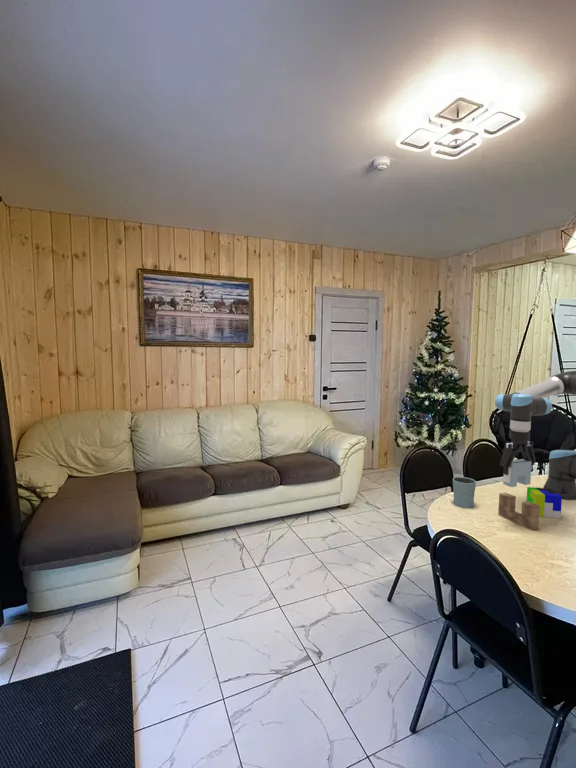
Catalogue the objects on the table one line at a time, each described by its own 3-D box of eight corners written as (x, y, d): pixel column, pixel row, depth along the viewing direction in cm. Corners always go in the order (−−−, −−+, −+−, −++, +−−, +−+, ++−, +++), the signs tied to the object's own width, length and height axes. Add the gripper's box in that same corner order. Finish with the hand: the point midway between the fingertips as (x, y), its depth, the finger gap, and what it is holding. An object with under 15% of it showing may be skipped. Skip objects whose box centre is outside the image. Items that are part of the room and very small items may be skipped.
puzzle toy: (560, 518, 167) (562, 496, 166) (535, 516, 169) (536, 494, 168) (549, 509, 177) (551, 488, 176) (526, 507, 179) (527, 487, 178)
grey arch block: (521, 481, 166) (522, 459, 165) (530, 484, 162) (531, 461, 162) (503, 484, 162) (504, 461, 162) (511, 487, 159) (512, 463, 158)
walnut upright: (498, 515, 170) (499, 493, 169) (503, 513, 171) (505, 492, 170) (532, 530, 155) (533, 506, 154) (538, 529, 156) (539, 505, 155)
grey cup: (467, 510, 175) (468, 484, 174) (447, 503, 183) (448, 478, 182) (478, 505, 181) (480, 480, 180) (458, 498, 189) (459, 475, 188)
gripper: (531, 427, 168) (528, 475, 170) (491, 430, 160) (488, 480, 162) (547, 430, 161) (544, 480, 163) (507, 433, 153) (504, 486, 155)
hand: (516, 480), depth 162 cm, fingers closed on grey arch block, 11 cm apart
